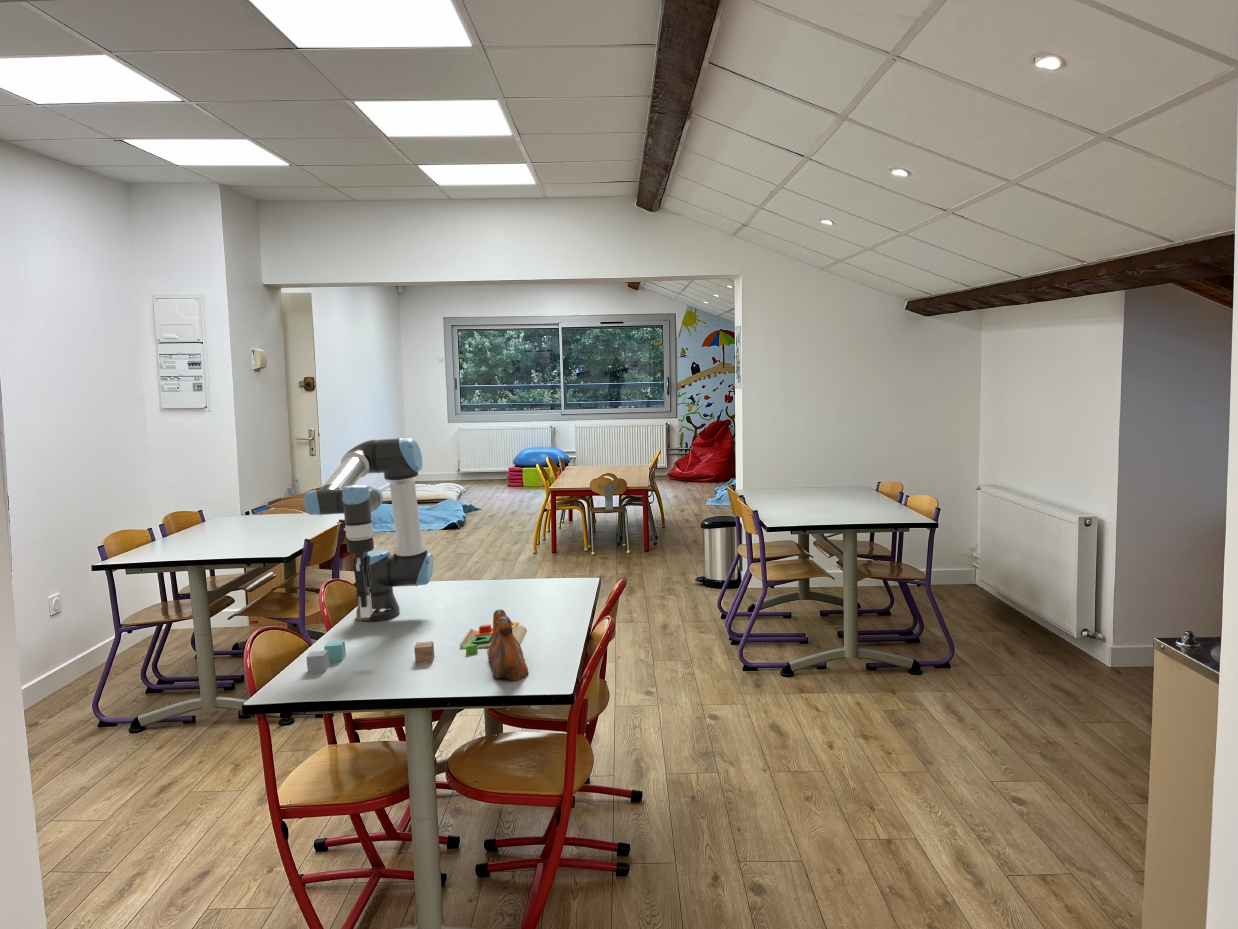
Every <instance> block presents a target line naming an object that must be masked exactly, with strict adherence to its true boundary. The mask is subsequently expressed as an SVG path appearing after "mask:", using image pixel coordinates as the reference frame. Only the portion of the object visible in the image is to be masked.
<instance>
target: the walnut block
mask: <svg viewBox="0 0 1238 929" xmlns="http://www.w3.org/2000/svg"><path fill="white" fill-rule="evenodd" d="M434 644H435V643H434V641H433V640H432V641H431V640H430V641H429V640H428V641H420V642H416V643H415V645H414V646H413V647H414V648H413V649H414V659H415V660H414V662H415V665H417V664H429V663H430V664H431V663H433V662H434V659H435V657H436V656H435V645H434Z"/></svg>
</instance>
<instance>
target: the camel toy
mask: <svg viewBox="0 0 1238 929" xmlns="http://www.w3.org/2000/svg"><path fill="white" fill-rule="evenodd" d="M512 622H513V621H512V620H511V619H510V617H509V616H507V613H506V611H505V610H504V609H501V608H499V609H496V610H494V612H493V617H492V628H493V634H492V640H491V642H490V647H489V648H488V649H489V651H488V652H489V653H487V655H488V656H487V658H488V661H489V663H490V668H491V670H492V678H494V679H500V678H505V679H509V680H510V681H513V682H515V681H519V680H521V679H523V678H524V677H525V676H526V675H527V674H528V672H529V668H528V666H527V663H526V659H525V657H524V651H523V650H522V647H521V645H520V644H519V642H518V641H517V639H516V638H515V636H514V635H513V632H512V626H513V625H512Z"/></svg>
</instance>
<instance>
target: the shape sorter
mask: <svg viewBox="0 0 1238 929" xmlns="http://www.w3.org/2000/svg"><path fill="white" fill-rule="evenodd" d="M511 622H512V632H513V635H514V636H515V638H516V639H517V641H518V642H519V644H520V646H521V645H522V642H523V640H524V638H525V636H526V634H527V632H528V629H527V628H526V627H525V626H524V625H520V622H518V621H517V622H516V621H515V622H513V621H511ZM492 634H493V627H492V626H491V624H482V625H479V627H478V630H475V629H473V628H469V630H468V632H467V633H466V635H465V636H464V637H463V639H462V640H461V642H460V643H459V646H460V649H462V650H465V655H473V654H477V653H479V652H478V650H479V649H486V652H487V654H488V653H489V652H488V651H489V647H490V642H491V640H492Z"/></svg>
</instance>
